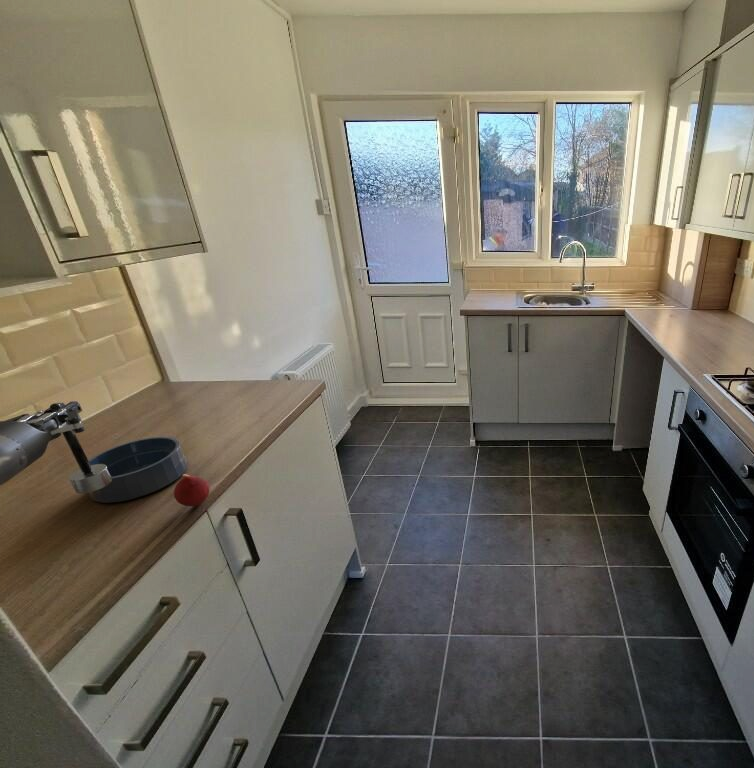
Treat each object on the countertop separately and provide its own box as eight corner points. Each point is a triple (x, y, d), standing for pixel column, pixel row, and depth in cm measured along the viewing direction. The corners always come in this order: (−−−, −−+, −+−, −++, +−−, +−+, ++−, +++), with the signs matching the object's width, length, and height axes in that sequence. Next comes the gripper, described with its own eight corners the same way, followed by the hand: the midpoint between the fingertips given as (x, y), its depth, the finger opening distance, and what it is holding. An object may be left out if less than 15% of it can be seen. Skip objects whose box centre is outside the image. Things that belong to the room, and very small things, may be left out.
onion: (215, 493, 91) (204, 463, 88) (212, 508, 86) (200, 477, 83) (182, 502, 88) (170, 471, 85) (178, 518, 84) (164, 486, 81)
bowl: (85, 516, 85) (71, 490, 82) (97, 476, 98) (85, 452, 95) (189, 484, 94) (179, 460, 92) (187, 451, 107) (179, 429, 105)
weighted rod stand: (72, 497, 75) (28, 413, 69) (78, 483, 79) (36, 402, 72) (110, 486, 78) (71, 404, 71) (114, 473, 82) (77, 394, 75)
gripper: (38, 427, 60) (107, 383, 76) (-86, 442, 57) (12, 392, 72) (61, 470, 63) (123, 419, 79) (-56, 486, 60) (32, 430, 75)
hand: (69, 406), depth 75 cm, fingers closed on weighted rod stand, 1 cm apart
